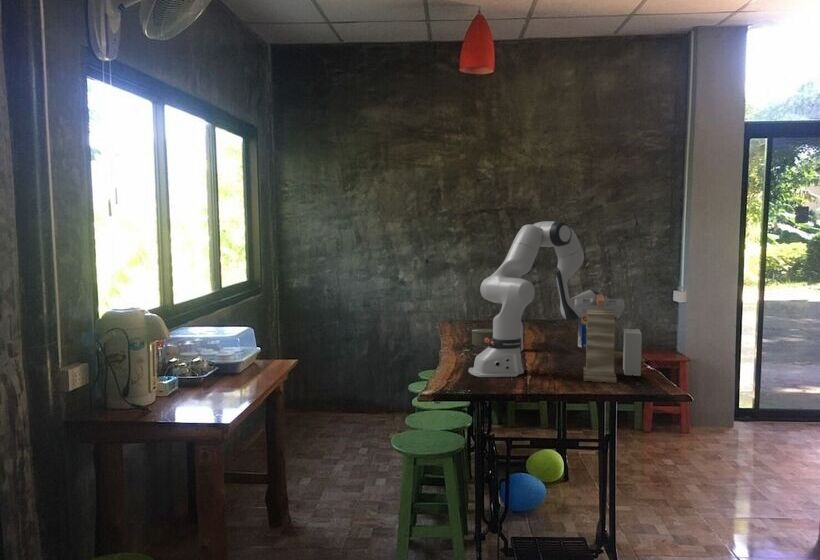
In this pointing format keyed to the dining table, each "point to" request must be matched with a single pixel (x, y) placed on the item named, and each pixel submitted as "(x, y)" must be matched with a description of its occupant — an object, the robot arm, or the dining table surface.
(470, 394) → the dining table surface
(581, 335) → the beverage box
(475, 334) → the can
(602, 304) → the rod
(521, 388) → the dining table surface
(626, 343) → the seat block
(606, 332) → the stand
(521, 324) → the milk bottle
